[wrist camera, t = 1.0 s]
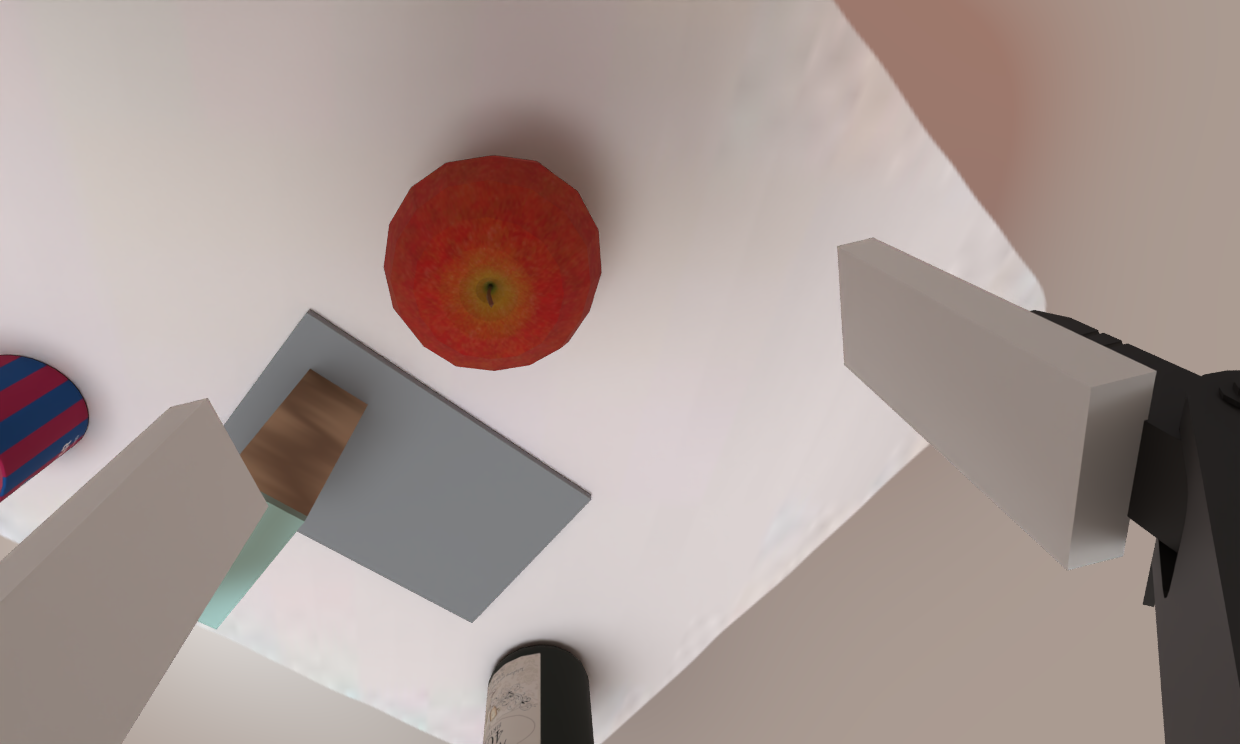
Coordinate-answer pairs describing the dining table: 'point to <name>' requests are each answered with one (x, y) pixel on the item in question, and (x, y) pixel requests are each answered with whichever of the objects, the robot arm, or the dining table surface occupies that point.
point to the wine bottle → (538, 699)
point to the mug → (35, 419)
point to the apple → (492, 262)
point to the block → (288, 477)
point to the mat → (416, 478)
